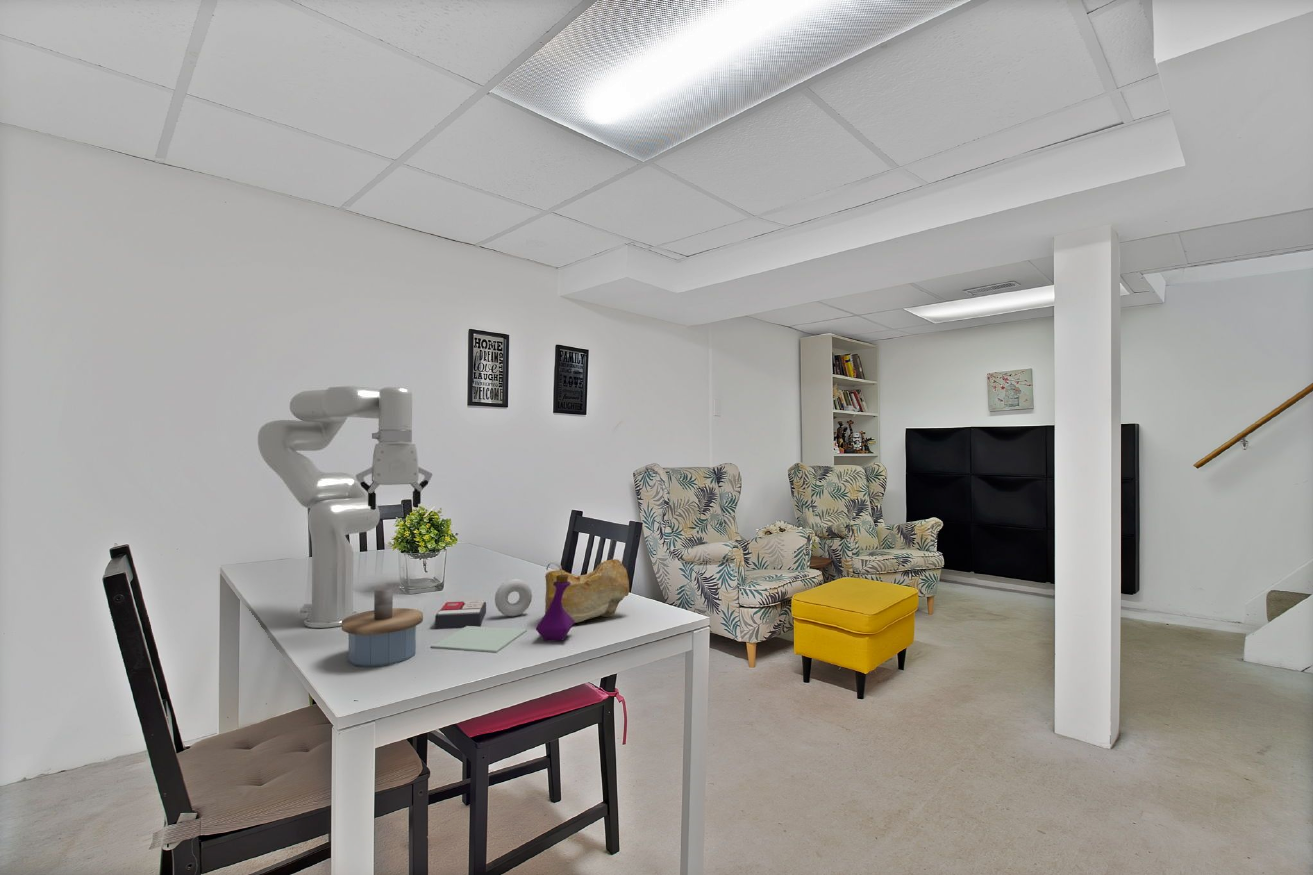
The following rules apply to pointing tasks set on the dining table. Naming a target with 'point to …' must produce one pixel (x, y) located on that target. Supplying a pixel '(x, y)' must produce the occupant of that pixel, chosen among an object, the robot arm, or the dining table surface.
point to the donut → (504, 592)
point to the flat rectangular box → (460, 614)
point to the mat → (480, 639)
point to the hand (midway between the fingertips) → (394, 508)
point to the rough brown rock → (591, 591)
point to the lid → (382, 617)
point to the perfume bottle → (556, 613)
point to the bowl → (382, 648)
